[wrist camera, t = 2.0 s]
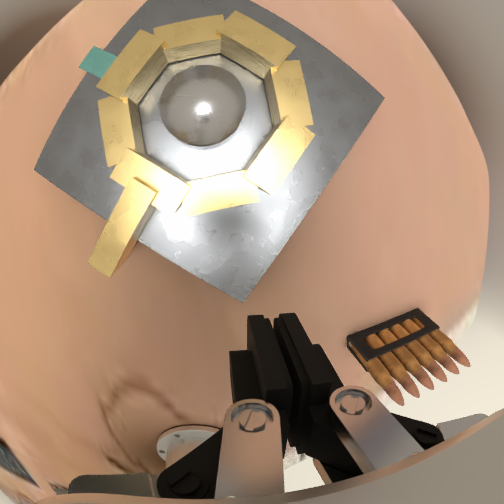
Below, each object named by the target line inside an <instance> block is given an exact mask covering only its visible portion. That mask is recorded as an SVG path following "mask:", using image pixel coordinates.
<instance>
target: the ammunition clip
mask: <svg viewBox="0 0 504 504" xmlns="http://www.w3.org/2000/svg"><path fill="white" fill-rule="evenodd" d="M347 348H348V349H349V350H350V352H351V353H352V354H353V355H354V357H355V358H356V359H357V360H358V361H359V363H360V364H361V365H362V366H363V368H364V369H365V370H366V371H367V372H369V373H370V374H371V376H372V377H373V378H374V380H375V381H376V382H377V383H378V384H379V385H380V386H381V387H382V388H383V389H384V391H386V393H387V394H388V395H389V396H390V398H391V399H392V400H394V401H395V402H396V403H397V404H399V405H401V406H403V405H404V399H403V396H402V394H401V392H400V390H399V388H398V387H397V386H396V384H395V382H394V381H393V379H392V378H391V376H392V377H393V378H394V379H396V380H397V381H398V382H399V383H400V384H401V385H402V386H403V388H404V389H405V390H406V391H407V392H408V393H410V394H411V395H413V396H415V397H417V398H419V397H420V394H419V391H418V388H417V386H416V384H415V383H414V381H413V380H412V379H411V377H410V376H409V374H408V373H407V372H406V370H407V371H408V372H409V373H411V374H412V375H413V376H414V377H415V378H416V379H417V380H418V381H419V382H420V383H421V384H422V385H424V386H425V387H427V388H428V389H431V390H433V389H434V385H433V382H432V380H431V378H430V377H429V375H428V374H427V373H426V371H425V370H424V369H423V368H422V366H423V367H424V368H426V369H427V370H428V371H429V372H430V373H431V374H432V375H433V376H434V377H436V378H437V379H439V380H441V381H443V382H447V377H446V375H445V373H444V371H443V370H442V368H441V367H440V366H439V365H438V364H437V363H436V361H437V362H438V363H440V364H441V365H442V366H443V367H444V368H446V369H447V370H448V371H450V372H452V373H454V374H459V370H458V368H457V366H456V364H455V363H454V362H453V360H452V359H451V358H450V357H452V358H453V359H454V360H455V361H457V362H458V363H460V364H462V365H464V366H467V367H470V362H469V360H468V359H467V357H466V356H465V355H464V354H463V352H461V350H459V349H458V347H457V346H456V345H455V344H454V343H453V342H452V340H451V339H450V338H448V337H447V336H446V335H445V334H444V333H443V332H441V331H440V330H439V326H438V325H437V324H436V323H435V322H433V321H432V320H431V319H430V318H429V317H428V316H426V315H425V314H424V313H423V312H422V311H421V310H420V309H418V308H416V309H414V310H412V311H410V312H407V313H405V314H403V315H400V316H398V317H395V318H393V319H390V320H388V321H385V322H383V323H380V324H378V325H375V326H373V327H370V328H367V329H365V330H362V331H359V332H357V333H354V334H351V335H348V336H347ZM447 354H448V355H449V356H450V357H449V356H448V355H447ZM435 360H436V361H435ZM421 365H422V366H421Z"/></svg>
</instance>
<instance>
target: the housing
mask: <svg viewBox="0 0 504 504" xmlns="http://www.w3.org/2000/svg"><path fill="white" fill-rule="evenodd" d="M235 10H236V11H238V12H240V13H242V14H244V15H245V16H247V17H249V18H251V19H253V20H255V21H256V22H258V23H260V24H262V25H263V26H265V27H267V28H268V29H270V30H272V31H273V32H275V33H277V34H278V35H280V36H281V37H283V38H284V39H286V40H288V41H289V42H291V43H292V44H294V45H295V46H296V47H295V49H294V50H293V52H292V53H291V54H290V56H289V57H288V59H287V60H286V61H289V60H300V64H301V68H302V72H303V77H304V81H305V85H306V90H307V94H308V99H309V104H310V109H311V114H312V119H313V124H314V125H312V126H310V127H307V128H308V129H309V130H310V131H312V132H313V133H314V134H316V135H315V136H314V138H313V139H312V141H311V142H310V143H309V145H308V146H307V148H306V149H305V150H304V152H303V153H302V155H301V156H300V158H299V159H298V160H297V162H296V163H295V165H294V166H293V168H292V169H291V170H290V172H289V173H288V175H287V176H286V177H285V179H284V180H283V182H282V183H281V185H280V186H279V188H278V189H277V190H276V192H275V193H274V195H273V196H272V195H270V194H268V193H266V192H264V191H262V190H261V189H259V188H258V187H257V190H258V195H259V202H254V203H249V204H244V205H239V206H234V207H229V208H224V209H219V210H215V211H210V212H205V213H201V214H196V215H192V216H187V217H186V215H185V210H184V206H183V203H182V205H181V206H180V208H179V209H178V210H177V212H176V213H175V214H174V215H173V216H172V217H171V216H169V215H168V214H166V213H165V212H163V211H162V210H160V209H158V208H157V207H156V209H155V210H154V212H153V214H152V215H151V217H150V219H149V221H148V222H147V224H146V226H145V228H144V230H143V231H142V233H141V235H140V237H139V239H138V241H139V242H141V243H143V244H144V245H146V246H147V247H149V248H151V249H152V250H154V251H155V252H157V253H159V254H160V255H162V256H163V257H165V258H167V259H168V260H170V261H172V262H173V263H175V264H177V265H178V266H180V267H182V268H183V269H185V270H187V271H188V272H190V273H192V274H193V275H195V276H197V277H198V278H200V279H202V280H203V281H205V282H207V283H209V284H210V285H212V286H214V287H215V288H217V289H219V290H221V291H222V292H224V293H226V294H228V295H229V296H231V297H233V298H235V299H236V300H238V301H240V302H242V303H243V302H244V301H245V300H246V298H247V297H248V295H249V294H250V293H251V291H252V290H253V289H254V287H255V286H256V284H257V283H258V282H259V280H260V279H261V277H262V276H263V275H264V273H265V272H266V271H267V269H268V268H269V266H270V265H271V264H272V262H273V261H274V259H275V258H276V257H277V255H278V254H279V252H280V251H281V250H282V248H283V247H284V245H285V244H286V242H287V241H288V240H289V238H290V237H291V235H292V234H293V233H294V231H295V230H296V228H297V227H298V225H299V224H300V223H301V221H302V220H303V218H304V217H305V215H306V214H307V213H308V211H309V210H310V208H311V207H312V205H313V204H314V202H315V201H316V200H317V198H318V197H319V195H320V194H321V192H322V191H323V189H324V188H325V186H326V185H327V184H328V182H329V181H330V179H331V178H332V176H333V175H334V173H335V172H336V170H337V169H338V167H339V166H340V165H341V163H342V162H343V160H344V159H345V157H346V156H347V154H348V153H349V151H350V150H351V148H352V147H353V145H354V144H355V142H356V141H357V139H358V138H359V136H360V135H361V133H362V132H363V130H364V129H365V127H366V126H367V124H368V123H369V121H370V120H371V118H372V117H373V115H374V114H375V112H376V111H377V109H378V107H379V106H380V104H381V103H382V101H383V100H384V97H383V96H382V95H381V94H380V93H379V92H378V91H377V90H376V89H375V88H374V87H373V86H371V85H370V84H369V83H368V82H367V81H366V80H365V79H364V78H363V77H361V76H360V75H359V74H358V73H357V72H356V71H354V70H353V69H352V68H351V67H350V66H348V65H347V64H346V63H345V62H343V61H342V60H341V59H340V58H338V57H337V56H336V55H334V54H333V53H332V52H331V51H329V50H328V49H327V48H325V47H324V46H322V45H321V44H320V43H318V42H317V41H316V40H314V39H313V38H311V37H310V36H308V35H307V34H305V33H304V32H302V31H301V30H299V29H298V28H296V27H295V26H293V25H292V24H290V23H288V22H287V21H285V20H284V19H282V18H280V17H279V16H277V15H275V14H274V13H272V12H270V11H268V10H267V9H265V8H263V7H261V6H259V5H258V4H256V3H254V2H252V1H250V0H148V1H146V2H145V4H144V5H143V6H142V7H141V8H140V9H139V10H138V11H137V12H136V13H135V14H134V15H133V16H132V17H131V18H130V19H129V20H128V22H127V23H126V24H125V25H124V26H123V27H122V28H121V29H120V31H119V32H118V33H117V34H116V35H115V37H114V38H113V39H112V40H111V41H110V43H109V44H108V45H107V46H106V48H105V49H104V50H102V49H100V48H97V47H95V46H94V47H93V48H92V49H91V51H90V52H89V53H88V55H87V56H86V57H85V59H84V60H83V62H82V63H81V64H80V66H79V68H81V69H83V70H85V71H87V74H86V75H85V77H84V78H83V80H82V81H81V83H80V84H79V86H78V87H77V89H76V90H75V92H74V93H73V95H72V97H71V98H70V100H69V102H68V103H67V105H66V107H65V108H64V110H63V112H62V114H61V115H60V117H59V119H58V121H57V123H56V125H55V126H54V128H53V130H52V132H51V134H50V136H49V138H48V140H47V142H46V144H45V146H44V148H43V150H42V153H41V155H40V157H39V159H38V161H37V164H36V166H35V168H34V170H35V171H36V172H38V173H39V174H40V175H42V176H43V177H45V178H46V179H47V180H49V181H50V182H52V183H53V184H54V185H56V186H57V187H59V188H60V189H61V190H63V191H64V192H66V193H67V194H69V195H70V196H71V197H73V198H74V199H76V200H77V201H79V202H80V203H82V204H83V205H85V206H86V207H87V208H89V209H90V210H92V211H93V212H95V213H96V214H98V215H99V216H101V217H102V218H104V219H105V220H107V221H108V219H109V217H110V215H111V213H112V212H113V210H114V208H115V206H116V204H117V202H118V200H119V198H120V196H121V195H122V193H123V191H124V189H125V187H124V186H122V185H121V184H119V183H118V182H116V181H114V180H113V179H111V178H110V175H111V173H112V172H113V170H114V168H115V167H108V166H107V161H106V155H105V149H104V143H103V137H102V131H101V124H100V116H99V108H98V100H101V99H104V98H106V97H109V96H110V95H108V94H106V93H105V92H103V91H102V90H100V89H99V88H97V87H96V86H97V84H98V83H99V81H100V80H101V78H102V77H103V76H104V74H105V73H106V71H107V70H108V69H109V67H110V66H111V65H112V63H113V62H114V61H115V59H116V58H117V57H118V55H119V54H120V53H121V52H122V50H123V49H124V48H125V47H126V45H127V44H128V43H129V42H130V41H131V39H132V38H133V37H134V36H135V35H136V33H137V32H138V31H139V30H140V29H141V30H144V31H146V32H148V33H150V34H153V35H154V30H153V28H155V27H159V26H163V25H167V24H172V23H176V22H181V21H185V20H190V19H196V18H201V17H207V16H214V15H221V14H223V17H224V21H225V20H226V19H227V18H228V17H229V16H230V15H231V14H232V13H233V12H234V11H235ZM138 112H139V118H140V124H141V130H142V136H143V142H144V147H145V153H146V154H147V155H149V156H150V157H152V158H154V159H155V160H157V161H159V162H160V163H162V164H163V165H165V166H167V167H168V168H170V169H171V170H173V171H174V172H176V173H178V174H179V175H181V176H182V177H184V178H186V179H187V180H189V181H192V180H196V179H201V178H205V177H210V176H215V175H220V174H225V173H230V172H235V171H240V170H243V169H244V167H245V166H246V165H247V163H248V162H249V160H250V159H251V157H252V156H253V155H254V153H255V152H256V150H257V149H258V148H259V146H260V145H261V143H262V142H263V141H264V139H265V138H266V136H267V135H268V134H269V132H270V131H271V130H272V128H273V123H272V118H271V113H270V108H269V103H268V98H267V93H266V89H265V84H264V79H263V78H261V77H259V76H258V75H256V74H255V73H253V72H252V71H250V70H248V69H247V68H245V67H244V66H242V65H240V64H239V63H237V62H235V61H234V60H232V59H230V58H228V57H227V56H225V55H223V54H221V53H216V54H210V55H204V56H199V57H194V58H189V59H184V60H180V61H175V62H171V63H168V64H167V66H166V67H165V68H164V69H163V71H162V72H161V73H160V75H159V76H158V77H157V78H156V80H155V81H154V82H153V84H152V85H151V86H150V88H149V89H148V90H147V92H146V93H145V95H144V96H143V97H142V99H141V100H140V102H139V103H138Z"/></svg>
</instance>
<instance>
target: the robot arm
mask: <svg viewBox="0 0 504 504" xmlns="http://www.w3.org/2000/svg"><path fill="white" fill-rule="evenodd" d="M229 356H230V377H231V389H232V399H233V405H231V406H230V407H229V408H228V410H227V411H226V414H225V419H224V427H222V428H221V429H217V428H213V427H207V426H195V425H192V426H181V427H176V428H173V429H170V430H168V431H166V432H164V433H163V434H162V435H160V437H159V438H158V440H157V452H158V454H159V456H160V457H161V458H162V459H163V460H164V461H165V462H166V466H165V470H164V471H163V472H162V473H161V474H155V475H149V474H148V472H146V473H133V474H114V475H81V476H78V477H76V478H74V479H73V480H72V481H71V483H70V484H69V487H68V494H64V495H57V496H52V497H48V498H45V499H42V500H40V501H38V502H37V503H36V504H504V408H503V409H501V410H499V411H497V412H495V413H493V414H492V415H490V416H487V415H485V414H475V415H471V416H468V417H463V418H460V419H455V420H451V421H447V422H443V423H438V424H437V426H436V427H435V426H434V425H431V424H429V423H425V422H422V421H418V420H414V419H411V418H407V417H403V416H400V415H397V414H393V413H390V412H389V411H388V410H387V409H386V407H385V406H384V405H383V404H382V403H381V402H380V401H379V400H378V399H377V398H376V396H375V395H374V394H373V393H371V392H370V391H369V390H367V389H365V388H363V387H359V386H344V385H343V384H342V382H341V380H340V378H339V377H338V375H337V373H336V371H335V370H334V368H333V366H332V365H331V363H330V361H329V359H328V358H327V356H326V354H325V352H324V351H323V349H322V347H321V346H320V345H319V344H313V345H312V343H311V341H310V339H309V338H308V336H307V334H306V332H305V330H304V328H303V327H302V325H301V323H300V321H299V319H298V317H297V315H296V314H295V313H283V314H279V318H274V326H273V328H272V325H271V322H270V320H269V318H264V316H263V315H248V318H247V350H241V351H230V352H229ZM287 438H288V441H289V445H290V447H296V450H297V453H298V454H303V453H305V454H306V455H308V456H310V457H312V458H313V463H314V465H315V467H316V469H317V471H318V473H319V474H320V476H321V478H322V480H323V481H324V483H325V485H322V486H319V487H314V488H309V489H304V490H298V491H293V492H287V493H285V492H284V474H283V459H284V455H285V450H286V444H287Z"/></svg>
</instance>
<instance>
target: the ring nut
mask: <svg viewBox="0 0 504 504" xmlns="http://www.w3.org/2000/svg"><path fill="white" fill-rule="evenodd" d="M153 30H154V35H153V34H150V33H148V32H146V31H144V30H141V29H140V30H139V31H138V32H137V33H136V35H135V36H134V37H133V38H132V39H131V41H130V42H129V43H128V44H127V45H126V47H125V48H124V49H123V50H122V52H121V53H120V54H119V55H118V57H117V58H116V59H115V61H114V62H113V63H112V65H111V66H110V67H109V69H108V70H107V71H106V73H105V74H104V76H103V77H102V78H101V80H100V81H99V83H98V84H97V86H96V87H97V88H99V89H100V90H102V91H103V92H105V93H106V94H108V95H110V96H109V97H106V98H104V99H101V100H98V108H99V116H100V124H101V131H102V137H103V143H104V149H105V155H106V161H107V166H108V167H115V168H114V170H113V172H112V173H111V175H110V178H111V179H113V180H114V181H116V182H118V183H119V184H121V185H122V186H124V187H125V189H124V191H123V193H122V195H121V196H120V198H119V200H118V202H117V204H116V206H115V208H114V210H113V212H112V213H111V215H110V217H109V219H108V221H107V223H106V225H105V227H104V229H103V232H102V234H101V236H100V238H99V240H98V242H97V244H96V246H95V249H94V251H93V253H92V255H91V258H90V260H89V262H88V264H89V265H91V266H92V267H94V268H95V269H97V270H98V271H100V272H101V273H103V274H104V275H106V276H107V277H109V278H111V276H112V275H113V274H114V273H115V272H116V271H117V270H118V268H119V267H120V266H121V265H122V264H123V263H124V262H125V261H126V259H127V258H128V257H129V255H130V253H131V251H132V250H133V248H134V246H135V244H136V242H137V240H138V239H139V237H140V235H141V233H142V231H143V230H144V228H145V226H146V224H147V222H148V221H149V219H150V217H151V215H152V214H153V212H154V210H155V209H156V207H157V208H158V209H160V210H162V211H163V212H165V213H166V214H168V215H169V216H171V217H172V216H173V215H174V214H175V213H176V212H177V210H178V209H179V208H180V206H181V205H182V203H183V206H184V210H185V215H186V217H187V216H192V215H196V214H201V213H205V212H210V211H215V210H219V209H224V208H229V207H234V206H239V205H244V204H249V203H254V202H259V195H258V190H257V187H258V188H259V189H261V190H262V191H264V192H266V193H268V194H270V195H272V196H273V195H274V193H275V192H276V190H277V189H278V188H279V186H280V185H281V183H282V182H283V180H284V179H285V177H286V176H287V175H288V173H289V172H290V170H291V169H292V168H293V166H294V165H295V163H296V162H297V160H298V159H299V158H300V156H301V155H302V153H303V152H304V150H305V149H306V148H307V146H308V145H309V143H310V142H311V141H312V139H313V138H314V136H315V135H316V134H314V133H313V132H312V131H310V130H309V129H308V128H307V127H310V126H312V125H314V124H313V119H312V114H311V109H310V104H309V99H308V94H307V90H306V85H305V81H304V77H303V72H302V68H301V64H300V60H289V61H286V60H287V59H288V57H289V56H290V54H291V53H292V52H293V50H294V49H295V47H296V46H295V45H294V44H292V43H291V42H289V41H288V40H286V39H284V38H283V37H281V36H280V35H278V34H277V33H275V32H273V31H272V30H270V29H268V28H267V27H265V26H263V25H262V24H260V23H258V22H256V21H255V20H253V19H251V18H249V17H247V16H245V15H244V14H242V13H240V12H238V11H236V10H235V11H234V12H233V13H232V14H231V15H230V16H229V17H228V18H227V19H226V20H225V21H224V17H223V14H221V15H214V16H207V17H201V18H196V19H190V20H185V21H181V22H176V23H172V24H167V25H163V26H159V27H155V28H153ZM216 53H221V54H223V55H225V56H227V57H228V58H230V59H232V60H234V61H235V62H237V63H239V64H240V65H242V66H244V67H245V68H247V69H248V70H250V71H252V72H253V73H255V74H256V75H258V76H259V77H261V78H263V79H264V84H265V89H266V93H267V98H268V103H269V108H270V113H271V118H272V123H273V128H272V130H271V131H270V132H269V134H268V135H267V136H266V138H265V139H264V141H263V142H262V143H261V145H260V146H259V148H258V149H257V150H256V152H255V153H254V155H253V156H252V157H251V159H250V160H249V162H248V163H247V165H246V166H245V167H244V169H243V170H240V171H235V172H230V173H225V174H220V175H215V176H210V177H205V178H201V179H196V180H192V181H189V180H187V179H186V178H184V177H182V176H181V175H179V174H178V173H176V172H174V171H173V170H171V169H170V168H168V167H167V166H165V165H163V164H162V163H160V162H159V161H157V160H155V159H154V158H152V157H150V156H149V155H147V154H146V153H145V147H144V142H143V136H142V130H141V124H140V118H139V112H138V103H139V102H140V100H141V99H142V97H143V96H144V95H145V93H146V92H147V90H148V89H149V88H150V86H151V85H152V84H153V82H154V81H155V80H156V78H157V77H158V76H159V75H160V73H161V72H162V71H163V69H164V68H165V67H166V66H167V64H168V63H171V62H175V61H180V60H184V59H189V58H194V57H199V56H204V55H210V54H216Z"/></svg>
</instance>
